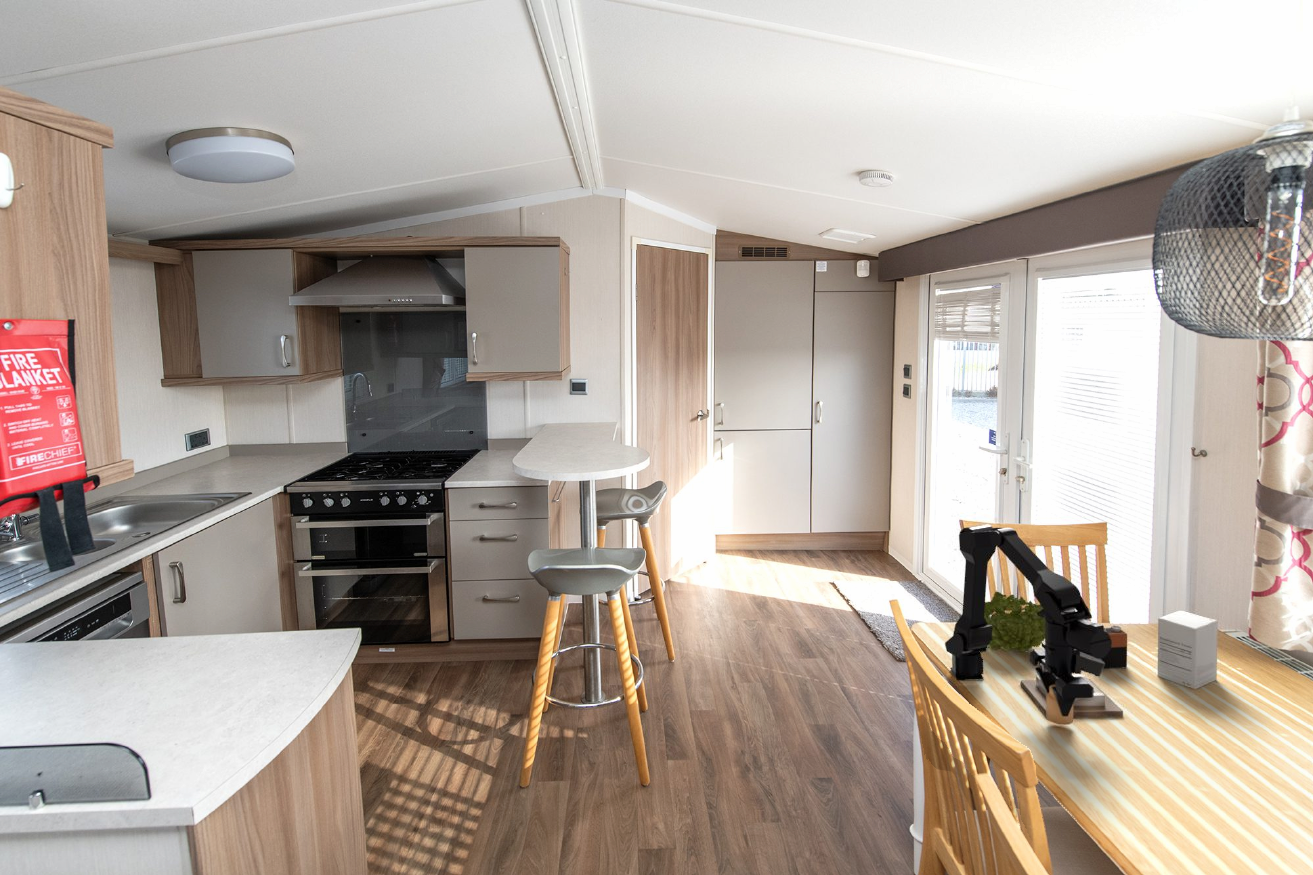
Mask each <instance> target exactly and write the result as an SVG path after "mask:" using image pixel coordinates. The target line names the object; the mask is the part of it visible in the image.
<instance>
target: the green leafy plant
mask: <svg viewBox="0 0 1313 875" xmlns="http://www.w3.org/2000/svg"><path fill="white" fill-rule="evenodd" d="M991 598H992V599H991V601H989V600H988V601H985V610H984V618H985V619H986V621H987V623H988V624H989V625H991V626H992V627H993V630H992V639H993V640H992V641H990V644H989V645H988V648H989V649H991V650H993V649H994V650H1000V649H1003V650H1004V651H1007V652H1010V651H1011V649H1014V650H1016V652H1020V653H1023V654H1025V653H1027V652H1028V651H1029V649H1032V648H1038V647H1040V646H1042V642H1045V618H1043V617H1040V616H1038V615H1037V612H1039V611H1040V610H1042V609H1043V607H1042V606H1041V605H1040V604H1036V603H1033V602H1032V601H1031V600H1029V601H1026V600H1025V599H1024V597H1023V596H1020V597H1019V599H1018V597H1015V595H1014V594H1010V595H1008V596H1007V594H1003V593H1001V592H1000V591H997V590H996V591H995V592H994V593H993V596H992V597H991ZM1023 606H1024V607H1023ZM1007 611H1009V612H1010V613H1009V612H1007ZM1032 650H1033V649H1032Z"/></svg>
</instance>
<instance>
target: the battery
mask: <svg viewBox="0 0 1313 875" xmlns="http://www.w3.org/2000/svg"><path fill="white" fill-rule="evenodd" d="M1104 631H1105V632H1107V633H1108V634H1109V636H1110V639H1111V640H1112V645H1111V649H1110V651H1109V653H1108V654H1107V655H1106V656H1105V657H1104V658H1101V660H1102V661H1103V662H1104V663H1105V665H1104V668H1103V670H1104V669H1122V668H1123V669H1125V668H1127V666H1128V633H1126V631H1124V630H1122V627H1121V626H1119V625H1111V627H1104Z"/></svg>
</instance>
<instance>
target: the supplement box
mask: <svg viewBox="0 0 1313 875" xmlns="http://www.w3.org/2000/svg"><path fill="white" fill-rule="evenodd" d="M1157 620H1158V621H1157V677H1159V678H1162V679H1165V680H1168V681H1170V682H1173V683H1176V684H1179V685H1181V686H1184V685H1185V687H1187V686H1188V688H1190V687H1191V688H1190V689H1193V690H1197V689H1198V688H1201V687H1204V686H1206V685H1207V684H1211V683H1213V682H1214V681H1217V679H1218V678H1217V676H1218V620H1217V619H1214V618H1213V619H1212V618H1209V617H1205V616H1201V615H1198V614H1195V613H1192V612H1187V611H1184V610H1177V611H1175V612H1171V613H1169V614H1166V615H1164V616H1160V617H1158V618H1157Z"/></svg>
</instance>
